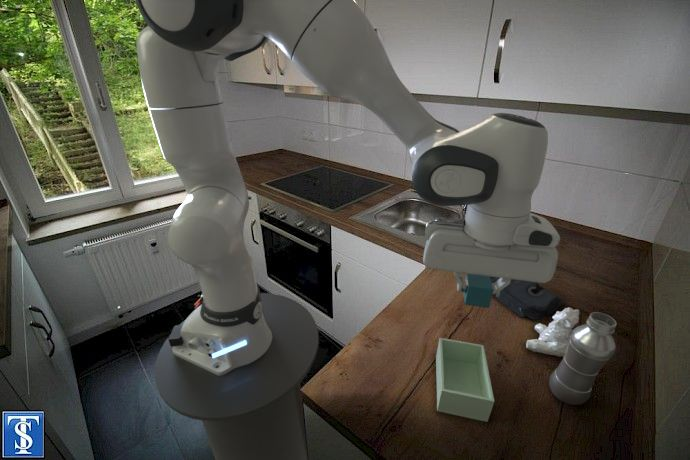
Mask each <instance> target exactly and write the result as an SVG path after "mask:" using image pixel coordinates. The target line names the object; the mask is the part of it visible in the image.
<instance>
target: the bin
mask: <svg viewBox="0 0 690 460" xmlns="http://www.w3.org/2000/svg"><path fill="white" fill-rule="evenodd" d="M435 370H436V371H435V373H436V378H435V379H436V410H437V411H436V412H440V413H443V414H448V415H453V416H458V417H463V418H467V419H470V420H471V419H472V420H476V421H481V422H484V423H485V422H486V423H488V422H489V418H490V416H491V413H492V410H493V407H494V404H495V402H496V401H495V397H494V391H493V386H492V381H491V377H490V371H489V366H488V361H487V356H486V350H485V346H484V344H479V343H472V342H467V341H462V340H461V341H460V340H455V339H449V338H445V337H444V338H443V337H439V339H438V344H437V350H436V355H435Z"/></svg>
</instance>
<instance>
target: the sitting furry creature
mask: <svg viewBox="0 0 690 460" xmlns="http://www.w3.org/2000/svg"><path fill="white" fill-rule="evenodd" d="M551 318H552V319H553V320H552V321H551V322H549V323H548V326H547V325H546V324H543V323H540V322H539V323H536V324H535V326H534V328H533V329H534V331H536V333H538V334H539V337H538V339H537V338H535V339H533V338H532V339H527V340H526V343H525V347H526V349H527V350H529V351H531V352H533V353H539V354H545V355H549V356H555V357H559V358H561V357H562V358H564V355H565V353H566V350H567V347H568V342H569V338H570V334H571V332H572V331H573V328H574V326H576V325H577V324H578V323H579V322H580V310H579V309H578V308H577V309H573V308H572V307H569V306H568V307H565V308H564V309H563V310H562V311H558V310H556V312H555V313H554V315H552V317H551Z"/></svg>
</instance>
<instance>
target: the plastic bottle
mask: <svg viewBox="0 0 690 460" xmlns="http://www.w3.org/2000/svg"><path fill="white" fill-rule="evenodd" d="M616 327H617V321H616V320H615V319H614V317H612V316H610V315H608V314H607V313H604V312H599V311H593V312H590V314H589V316H588V318H587V319H586V321H585V324H580V325H579V326H577V327H575V328H574V329H572V332H571V334H570V338H569V342H568V347H567V350H566V353H565V355H564V357H562V360H561V362H560V363H559V364H558V366H557V368H555V369H554V370H553V371H552V373H551V374H550V376H549V379H548V388H549V389H550V391H551V393H552V395H553V396H554V397H555V398H557V399H558V400H559V401H560V402H563V403H564V404H567V405H570V406H581V405H583V404H585V403H586V402H587V401H588V400H589V399H590V397H591V394H592V389H593V386H594V383H595V380H596V379H597V376H598V374H599V373H600V371H601V370H602V368H603V367H604V366H605V365H606V364H607V363H608V362H609V360H611V358H612V357H613V356H614V354H615V352H616V347H617V344H616V342H615V339H614V337H613V334H614V333H615V331H616V330H615V329H616Z"/></svg>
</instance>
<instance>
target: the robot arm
mask: <svg viewBox="0 0 690 460" xmlns="http://www.w3.org/2000/svg"><path fill="white" fill-rule="evenodd" d="M135 3H136V6H137V8H138V11H139V13H140V15H141V17H142V18H143V20H144V21H145V23H146V25H147V26H146V27H144V28H143V29H142V30H140V31H139V33H138V34H137V37H136V54H137V62H138V70H139V75H140V80H141V85H142V90H143V95H144V97H145V101H146V105H147V108H148V112H149V115H150V118H151V121H152V125H153V128H154V131H155V134H156V138H157V140H158V144H159V147H160V150H161V154H162V157H163V158H164V159H165V161H166V163H168V164H169V165H171V166H172V167H173V169H174V170H175V171H176V173H177V175H178V177H179V178H180V181H181V182H182V184H183V186H184V189H185V200H183V202H182V203H181V205H180V206H179V207H178V208H177V209H176V211H175V213H174V214H173V216H172V219H171V222H170V225H169V229H168V232H167V233H168V235H167V243H168V245H169V248H170V250H171V252H172V253H173V254H174V256H176V258H178V259H179V260H180V261H182V262H183V263H185V264H188V265H190V266H191V268H193V271H194V273H195V274H196V277H197V280H198V284H199V288H200V290H201V295H200V298H199V299H198V300H197V301H196V302H195V303H194V304H193V306H194V310H193V311H192V312H191V313H190V314H189V315H188V316H187V317H186V319H185V320H184V321H185V322H184V321H183V322H184V323H183V325H180V324H178V325H174V326H173V328H172V330H171V333H170V334H169V335H168V337H167V338H168V341H169V343H170V346H171V347H173V349H172V351H173V354H174V355H176V356H178V357H180V358H182V359H184V360H187V361H189V362H191V363H193V364H195V365H197V366H199V367H201V368H203V369H205V370H207V371H210V372H212V373H214V374H216V375H218V376H222V375H224V374H226V373H228V372H230V371H231V370H233V369H235V368H237V367H241V366H244V365H247V364H249V363H252V362H254V361H255V360H257V359H258V358H260V357H261V356H262V355H263V354H264V353H265V352H266V351H267V350H268V348H269V347H270V344H271V342H272V332H271V330H270V328H269V327H268V325H267V323H266V320H265V318H264V315H263V312H262V300H261V294H260V293H261V290H260V287H259V286H258V283H257V277H256V276H257V275H256V271H255V265H254V264H255V263H254V260H253V257H252V256H251V255H250V254H249V251H248V249H247V246H246V244H245V237H244V229H245V228H244V226H245V222H246V218H247V215H248V211H249V208H250V199H249V193H248V190H247V186H246V184H245V181H244V178H243V175H242V172H241V169H240V166H239V164H238V160H237V158H236V155H235V151H234V148H233V143H232V140H231V134H230V130H229V129H230V128H229V124H228V119H227V115H226V110H225V104H224V100H223V95H222V90H221V87H220V81H219V68H220V65H221V63H222V62H223V60H225V61H227V62H233V61H235V60H237V59H239V58H241V57H243V56H245V55H249V54H251V53H252V52H255V51H257V50H258V49H260V48H261V47H263V46H264V45H265V44H266V43H267V42H268V41H269V40H270V41H271V42H272V43H273V44H274V45H275V46H277V48H278V49H280V51H281V52H282V53H283V54H284V55H285V57H287V58H288V60H290V62H291V63H292V64H293V65H294V66H295V67H296V68H297V69H298V70H299V71H300V72H301V74H303V75H304V76H305V77H306V78H307V79H308V80H309V81H310V82H312V83H313V84H314V85H316V86H317V87H318V88H319V89H321V90H322V91H323V92H325V93H326V94H327V95H329V96H331V97H334V98H338V99H342V100H346V101H349V102H352V103H355V104H358V105H360V106H363V107H364V108H366V109H368V110H369V111H371V112H372V113H373V114H374V115H376V116H377V118H378V119H379V120H380V121H381V122H382V123H383V124H384V125H385V126H386V127H387V128H388V129H389V130H390V131H391V132H392V133H393V135H394V136H396V138H398V140H399V141H400V142H401V143H402V144H403V145H404V146H405V148H406V150H407V153H408V156H409V159H410V163H411V182H412V186H413V188H414V191H415V193H416V194H417V195H418V196H419V197H420V198H421V199H422V200H423V201H424V202H426V203H428V204H430V205H434V206H437V207H457V206H466V210H465V216H464V219H462V218H461V219H460V218H444V217H436V218H435V219H431V220H429V221H428V222H427V223H426V224H425V226H424V238H425V239H426V242H425V246H424V249H423V256H422V263H423V265H424V266H425V268H426V269H429V270H435V271H442V272H443V271H445V272H453V276H454V278H455V281H456V282H457V283H456V284H457V285H456V290H457V291H456V292H458V293H463V292H465V293H466V289H467V280H465V278H464V279H463V277H464V274H475V275H483V276H491V277H498V278H500V279H499V280H498V281H497V282H495V283H492V286H493V290H494V291H493V294H492V297H493V296H494V297H493V298H495V297H499V294H500V290H502V289H504V288H505V287H506V286H507V285H509V284H510V282H511V279H514V280H522V281H530V282H536V283H538V284H546V283H548V282H549V281H551V280H553V278H554V275H555V273H556V270H557V264H558V261H559V251H558V250H557V248H556V247H557V246H559V243H560V242H561V235H560V234H559V232H558V231H557V229H556V228H555V226H554V225H553V224H552V223H551V222H550V221H549V220H548V219H547V218H545V217H543V216H540V215H537V214H536V213H532V212H531V211H532V197H533V194H534V192H535V191H536V190H537V188H538V186H539V184H540V182H541V177H542V174H543V170H544V167H545V166H544V165H545V161H546V156H547V151H548V144H549V133H548V130H547V128H546V127H545V125H543V124H542V123H541V122H539V121H538V120H535V119H532V118H529V117H525V116H522V115H518V114H513V113H506V112H496V113H493V114H491V115H490V116H489V117H487V118H486V119H484V120H483V121H481V122H479V123H477V124H475V125H473V126H471V127H469V128H466V129H464V130H462V131H460V130H459V129H457V128H455V127H453V126H451V125H449V124H446V123H445V122H444V123H443V122H441V121H439V120H437V119H436V118H434V117H433V116H432V115H431V114H430V113H429V112H428V111H427V110H426V108H424V106H423V105H422V104H421V102H419V101H418V99H417V98H416V97H415V96H414V95H413V94H412V92H411V91H409V89H408V88H407V87H406V85H405V84H404V83H403V82H402V80H401V79H400V77H399V76H398V74H397V73H396V71H395V69H394V67H393V65H392V62H391V60H390V58H389V56H388V54H387V51H386V49H385V47H384V45H383V43H382V40H381V39H380V37H379V35H378V33H377V31H376V30H375V28H374V26H373V24H372V23H371V21H370V20H369V18H368V16H367V15H366V14H365V12H364V11H363V9H362V7H360V5H359V4H358V3H357V1H356V0H135ZM217 367H218V368H217Z"/></svg>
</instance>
